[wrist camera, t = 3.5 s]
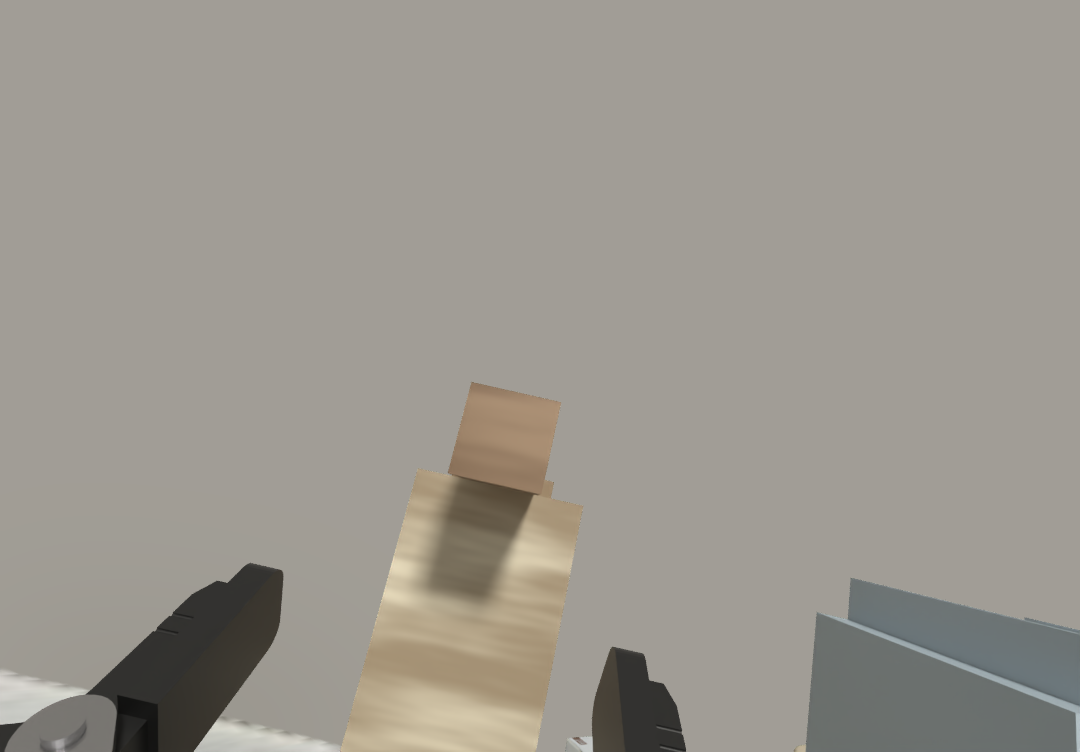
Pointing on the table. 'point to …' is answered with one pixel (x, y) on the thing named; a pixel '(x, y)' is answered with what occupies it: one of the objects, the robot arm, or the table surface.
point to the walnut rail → (505, 439)
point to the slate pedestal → (940, 678)
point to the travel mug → (800, 748)
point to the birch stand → (466, 621)
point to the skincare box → (579, 744)
